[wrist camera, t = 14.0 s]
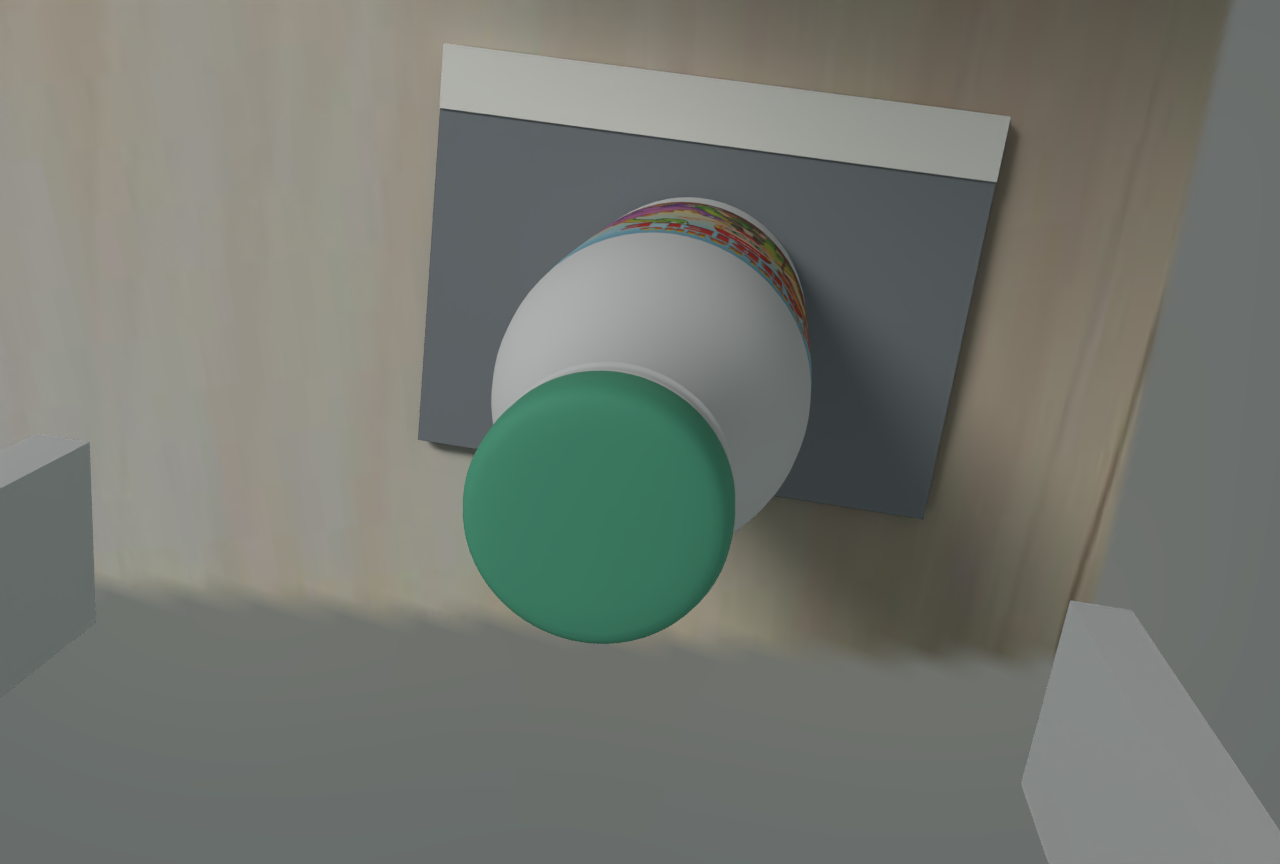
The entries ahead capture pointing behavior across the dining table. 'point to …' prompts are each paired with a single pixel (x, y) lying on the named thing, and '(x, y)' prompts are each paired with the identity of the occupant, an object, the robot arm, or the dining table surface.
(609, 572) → the milk bottle
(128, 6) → the dining table surface
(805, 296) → the mat
